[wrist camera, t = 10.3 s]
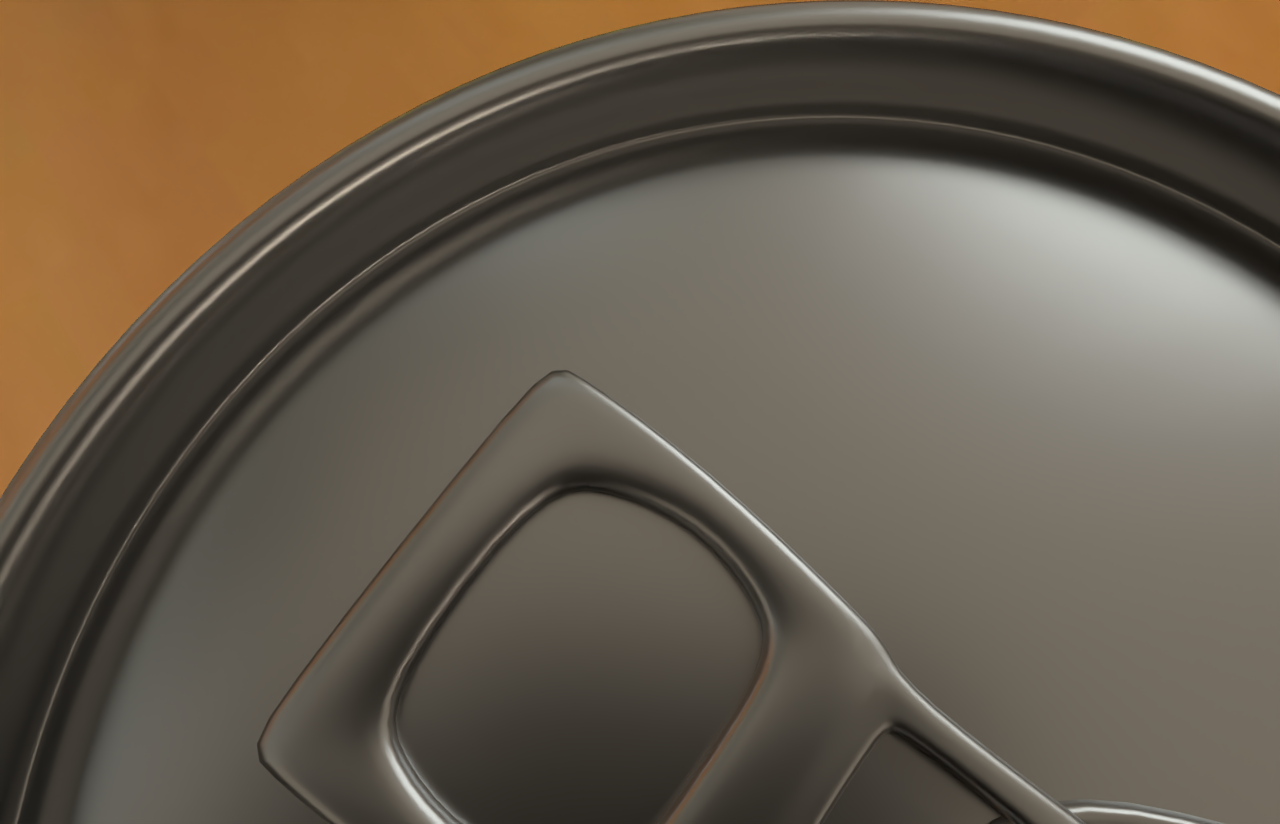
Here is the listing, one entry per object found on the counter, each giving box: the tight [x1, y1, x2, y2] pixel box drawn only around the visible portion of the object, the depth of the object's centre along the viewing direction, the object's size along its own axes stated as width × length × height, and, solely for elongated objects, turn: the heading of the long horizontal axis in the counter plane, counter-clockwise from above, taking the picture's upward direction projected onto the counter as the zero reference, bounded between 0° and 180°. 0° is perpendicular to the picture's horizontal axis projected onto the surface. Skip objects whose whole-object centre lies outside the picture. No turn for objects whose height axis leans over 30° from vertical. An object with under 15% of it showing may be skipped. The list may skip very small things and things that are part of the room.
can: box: [0, 0, 1280, 824], centre depth 8 cm, size 6×6×12 cm
